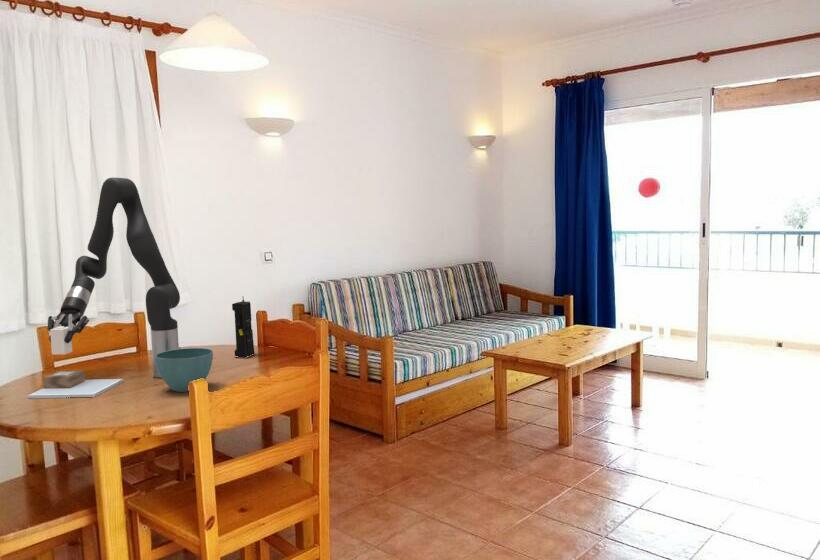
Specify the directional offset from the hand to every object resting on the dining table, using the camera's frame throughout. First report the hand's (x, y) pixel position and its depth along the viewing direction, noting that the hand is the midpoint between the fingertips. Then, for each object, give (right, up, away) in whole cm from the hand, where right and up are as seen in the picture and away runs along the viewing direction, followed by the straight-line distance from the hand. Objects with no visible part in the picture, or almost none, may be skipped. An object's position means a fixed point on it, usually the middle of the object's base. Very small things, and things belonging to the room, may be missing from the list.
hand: (59, 341), depth 217 cm
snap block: (0, -4, +2) cm, 4 cm away
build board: (+6, -16, 0) cm, 17 cm away
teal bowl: (+44, -16, -3) cm, 47 cm away
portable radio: (+51, -11, +47) cm, 70 cm away
